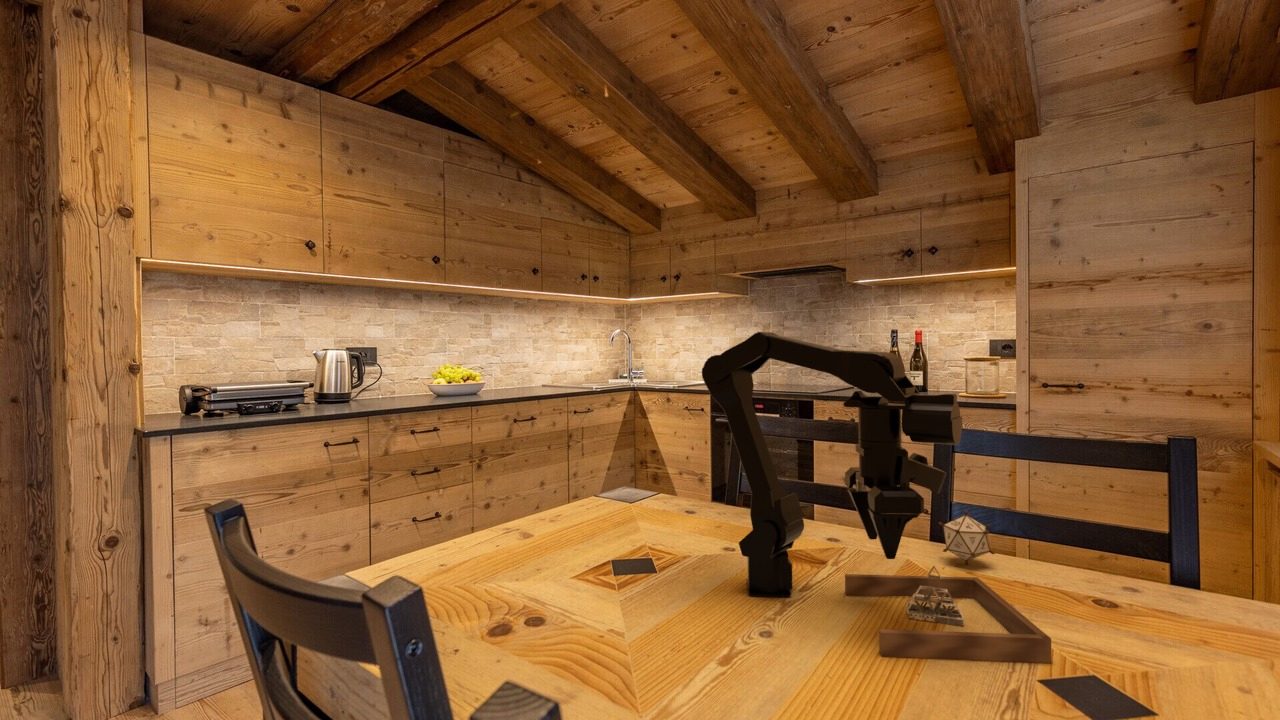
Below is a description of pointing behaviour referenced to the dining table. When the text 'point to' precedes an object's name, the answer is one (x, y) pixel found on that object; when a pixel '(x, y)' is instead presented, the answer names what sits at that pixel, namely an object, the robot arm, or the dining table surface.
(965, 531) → the game die
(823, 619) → the dining table surface
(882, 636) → the wooden arch
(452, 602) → the dining table surface
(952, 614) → the house of cards
